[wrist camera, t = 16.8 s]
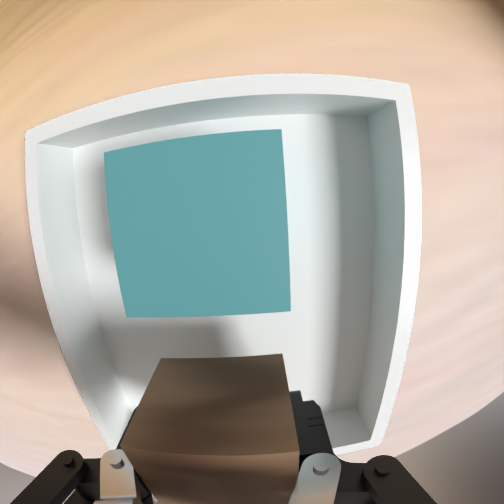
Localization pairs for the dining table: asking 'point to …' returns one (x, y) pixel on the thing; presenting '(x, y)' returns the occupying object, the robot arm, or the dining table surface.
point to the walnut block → (216, 432)
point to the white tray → (299, 234)
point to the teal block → (200, 225)
